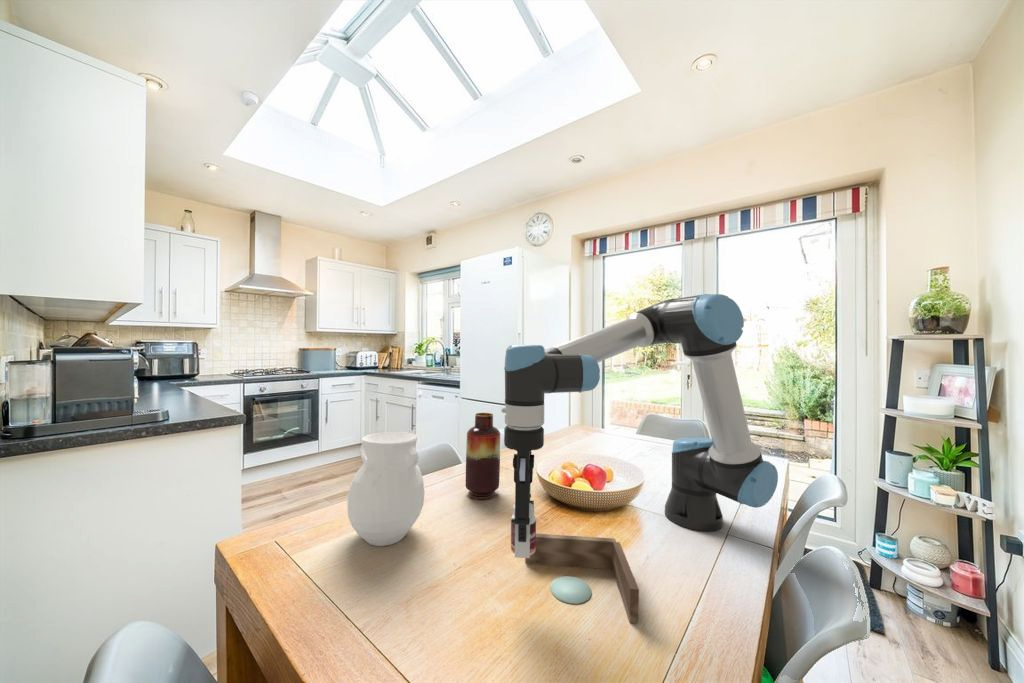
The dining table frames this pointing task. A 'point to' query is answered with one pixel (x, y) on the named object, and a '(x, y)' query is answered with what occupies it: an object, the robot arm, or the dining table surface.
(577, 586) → the disc
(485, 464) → the vase
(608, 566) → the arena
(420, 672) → the dining table surface
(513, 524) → the pill bottle
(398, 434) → the white vase
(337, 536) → the dining table surface
